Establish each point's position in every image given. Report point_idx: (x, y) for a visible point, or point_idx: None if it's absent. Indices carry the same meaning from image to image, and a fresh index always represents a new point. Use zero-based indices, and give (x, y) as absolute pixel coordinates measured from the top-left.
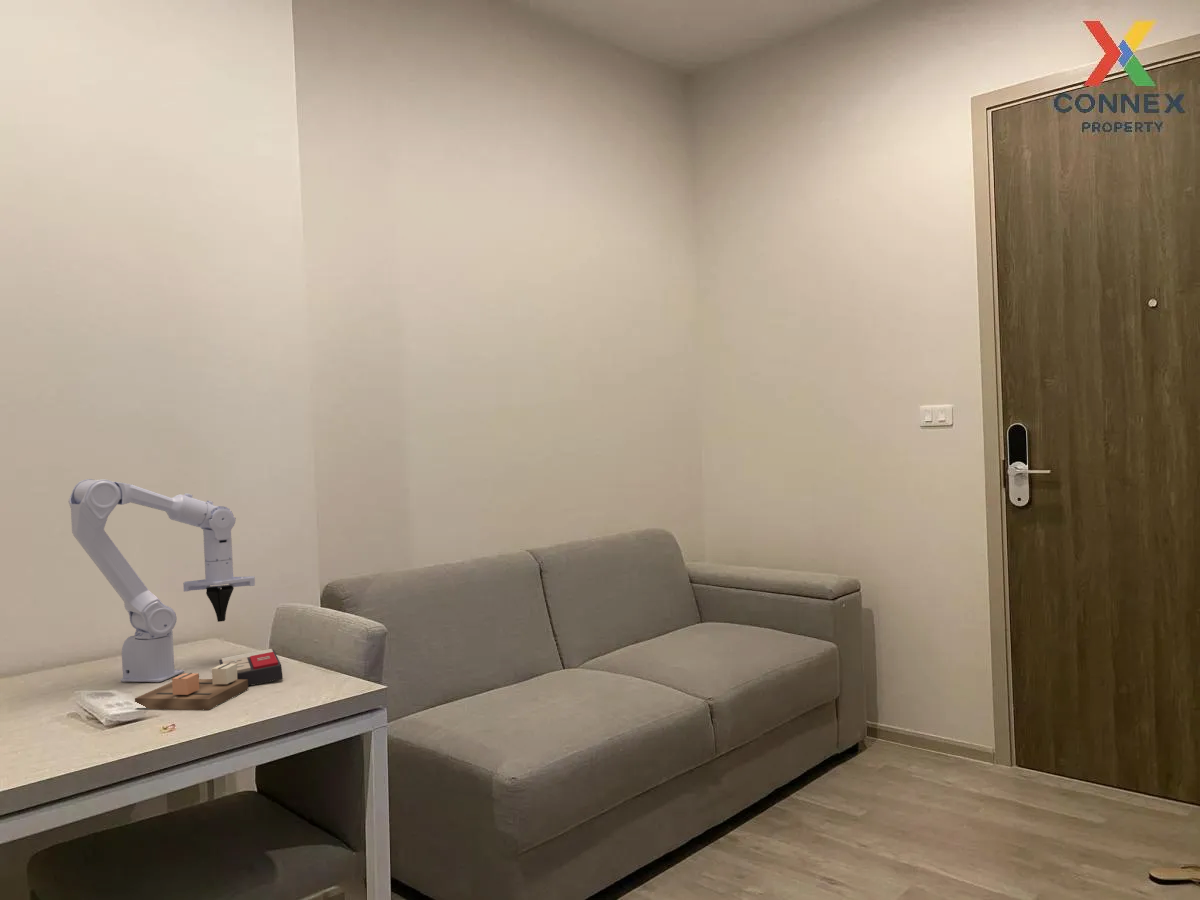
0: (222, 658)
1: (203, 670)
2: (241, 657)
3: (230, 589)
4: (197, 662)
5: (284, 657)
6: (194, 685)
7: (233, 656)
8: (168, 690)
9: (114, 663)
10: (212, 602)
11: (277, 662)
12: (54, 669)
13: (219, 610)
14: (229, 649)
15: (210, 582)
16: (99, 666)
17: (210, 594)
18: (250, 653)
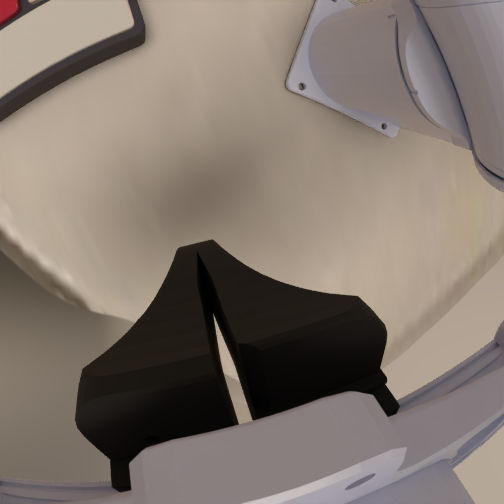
0: (129, 16)
1: (224, 97)
2: (49, 9)
3: (76, 418)
4: (275, 215)
5: (7, 230)
6: None
7: (86, 31)
8: None
9: (443, 249)
10: (278, 286)
11: None
12: (498, 227)
13: (206, 267)
14: (223, 343)
15: (418, 454)
16: (460, 230)
17: (328, 308)
18: (25, 60)
